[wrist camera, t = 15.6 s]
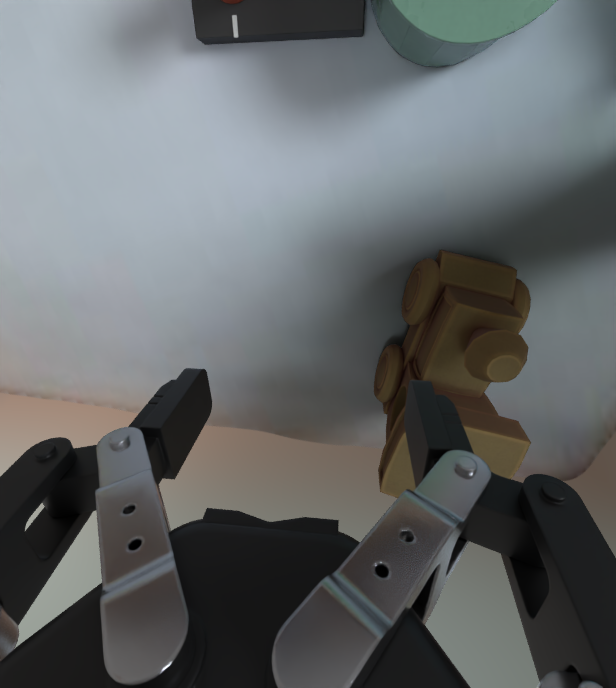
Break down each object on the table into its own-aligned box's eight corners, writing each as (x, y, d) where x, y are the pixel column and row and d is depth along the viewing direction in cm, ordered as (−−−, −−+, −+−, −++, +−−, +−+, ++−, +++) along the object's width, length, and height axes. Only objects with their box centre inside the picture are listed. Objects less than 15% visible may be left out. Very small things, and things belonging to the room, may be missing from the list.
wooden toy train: (447, 408, 47) (489, 522, 33) (364, 388, 47) (369, 493, 33) (522, 264, 38) (627, 336, 23) (417, 240, 38) (457, 295, 23)
